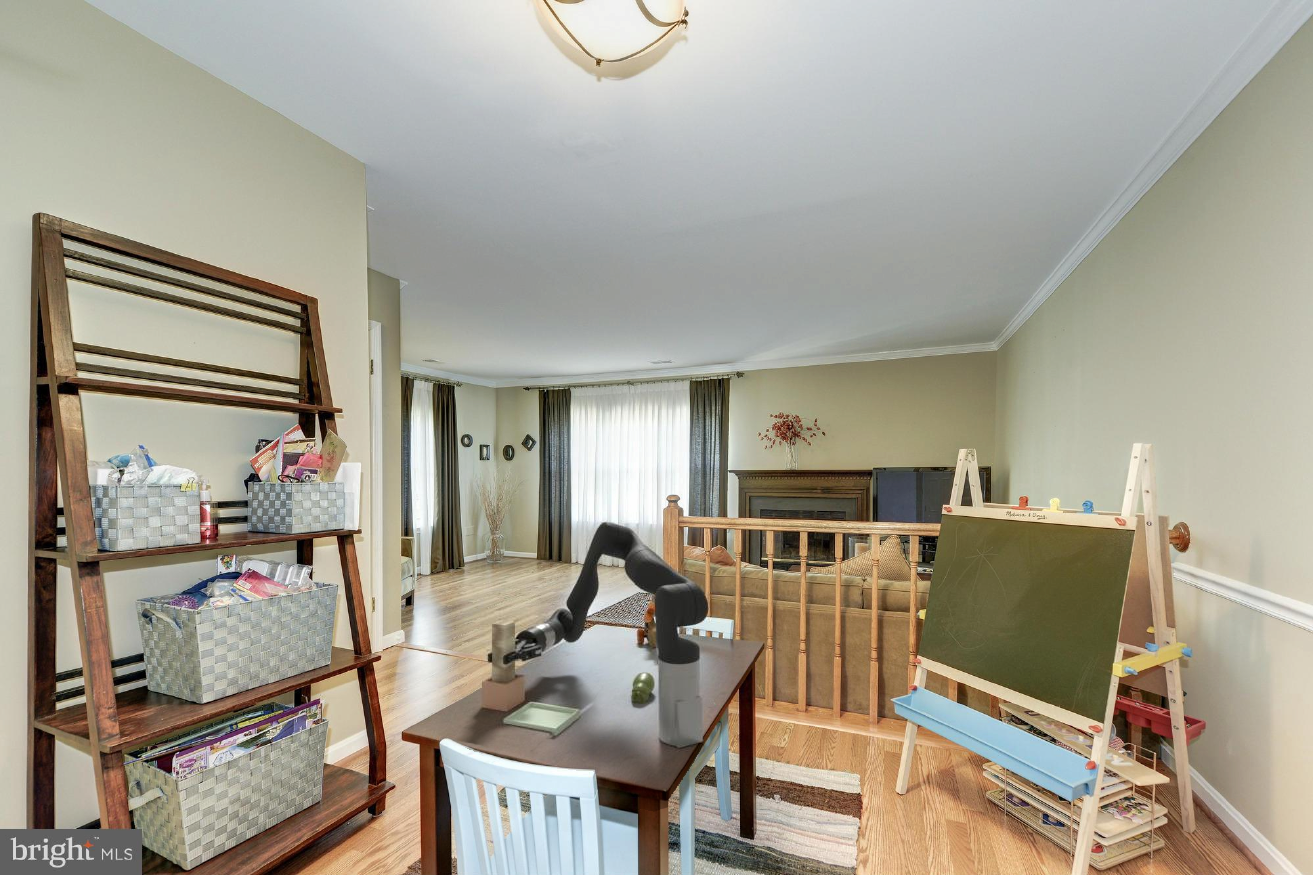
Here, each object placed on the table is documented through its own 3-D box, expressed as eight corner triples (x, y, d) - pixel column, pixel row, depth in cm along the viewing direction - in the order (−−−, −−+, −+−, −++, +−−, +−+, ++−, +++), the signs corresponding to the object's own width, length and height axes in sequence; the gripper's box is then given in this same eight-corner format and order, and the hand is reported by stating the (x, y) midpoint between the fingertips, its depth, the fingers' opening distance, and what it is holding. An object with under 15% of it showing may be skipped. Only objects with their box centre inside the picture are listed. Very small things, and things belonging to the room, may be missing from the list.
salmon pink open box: (524, 703, 151) (524, 675, 151) (506, 714, 144) (506, 685, 144) (500, 699, 154) (500, 671, 154) (481, 710, 147) (481, 681, 147)
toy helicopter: (659, 639, 206) (659, 598, 206) (672, 657, 185) (672, 613, 186) (636, 640, 204) (635, 600, 205) (647, 659, 184) (646, 614, 184)
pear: (656, 669, 159) (647, 689, 149) (657, 688, 159) (648, 709, 150) (636, 668, 160) (626, 687, 150) (637, 686, 160) (627, 707, 151)
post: (514, 701, 150) (514, 621, 151) (505, 707, 146) (505, 625, 147) (501, 699, 151) (501, 619, 152) (491, 705, 148) (492, 623, 149)
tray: (580, 716, 143) (580, 709, 143) (555, 735, 132) (555, 728, 132) (530, 708, 148) (530, 701, 148) (503, 726, 138) (503, 719, 138)
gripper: (513, 624, 165) (473, 641, 150) (558, 628, 160) (520, 647, 144) (513, 651, 165) (473, 671, 149) (558, 657, 160) (520, 678, 144)
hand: (496, 659), depth 147 cm, fingers closed on post, 4 cm apart
